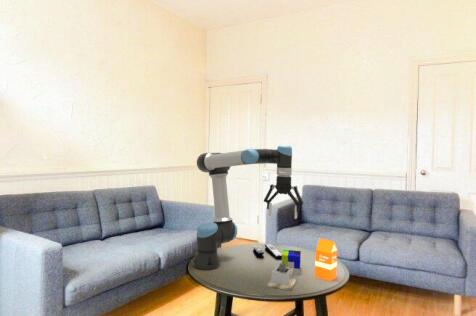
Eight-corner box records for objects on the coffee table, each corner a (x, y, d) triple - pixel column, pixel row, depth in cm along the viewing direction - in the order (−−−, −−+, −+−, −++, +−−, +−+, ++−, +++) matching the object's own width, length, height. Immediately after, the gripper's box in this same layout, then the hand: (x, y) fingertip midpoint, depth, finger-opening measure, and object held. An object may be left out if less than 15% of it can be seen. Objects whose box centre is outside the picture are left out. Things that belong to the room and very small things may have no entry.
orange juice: (330, 281, 173) (331, 243, 172) (314, 276, 179) (315, 239, 178) (336, 277, 179) (337, 240, 178) (321, 272, 185) (322, 236, 184)
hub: (271, 283, 165) (271, 271, 165) (275, 276, 174) (276, 265, 174) (289, 286, 162) (289, 274, 162) (292, 279, 171) (293, 268, 170)
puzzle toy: (299, 275, 181) (300, 256, 180) (281, 273, 183) (281, 255, 182) (300, 268, 191) (300, 251, 190) (282, 266, 193) (283, 249, 192)
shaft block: (267, 286, 165) (267, 265, 164) (273, 277, 176) (274, 258, 176) (291, 290, 160) (292, 269, 160) (296, 281, 172) (297, 261, 171)
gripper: (258, 175, 173) (257, 215, 173) (307, 177, 163) (305, 221, 164) (262, 174, 180) (261, 213, 180) (309, 176, 170) (308, 218, 171)
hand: (282, 217), depth 172 cm, fingers open, 13 cm apart
